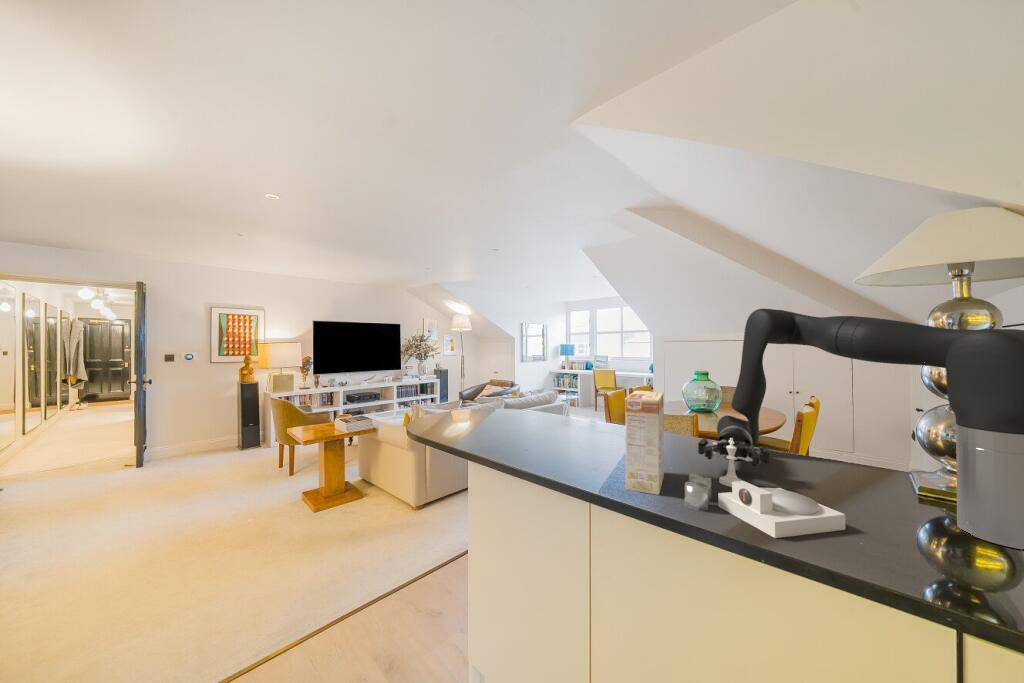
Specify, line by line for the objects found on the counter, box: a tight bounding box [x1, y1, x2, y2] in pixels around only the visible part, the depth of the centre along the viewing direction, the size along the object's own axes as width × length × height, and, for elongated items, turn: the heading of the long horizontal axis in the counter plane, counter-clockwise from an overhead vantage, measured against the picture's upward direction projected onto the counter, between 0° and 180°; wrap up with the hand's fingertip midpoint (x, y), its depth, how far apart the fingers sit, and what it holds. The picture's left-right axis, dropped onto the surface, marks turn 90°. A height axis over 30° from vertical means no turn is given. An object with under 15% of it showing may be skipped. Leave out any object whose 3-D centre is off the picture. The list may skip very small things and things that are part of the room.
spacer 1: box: [688, 472, 712, 501], centre depth 76 cm, size 4×4×4 cm
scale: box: [717, 480, 846, 539], centre depth 67 cm, size 14×12×6 cm
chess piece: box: [718, 438, 744, 488], centre depth 83 cm, size 5×5×10 cm
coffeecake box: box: [624, 390, 665, 496], centre depth 85 cm, size 15×7×20 cm, turn 154°
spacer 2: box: [684, 481, 709, 512], centre depth 71 cm, size 4×4×4 cm
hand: (731, 458), depth 82 cm, fingers open, 8 cm apart
